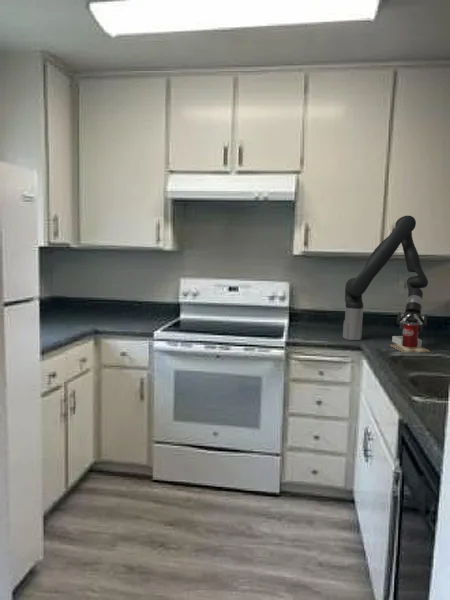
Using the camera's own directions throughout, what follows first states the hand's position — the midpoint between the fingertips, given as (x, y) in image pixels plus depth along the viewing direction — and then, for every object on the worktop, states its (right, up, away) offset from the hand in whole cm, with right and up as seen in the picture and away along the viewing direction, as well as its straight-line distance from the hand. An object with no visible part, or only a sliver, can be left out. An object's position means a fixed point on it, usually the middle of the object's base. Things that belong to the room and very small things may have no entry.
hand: (410, 331), depth 245 cm
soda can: (0, -8, +1) cm, 8 cm away
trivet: (0, -9, +1) cm, 9 cm away
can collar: (+4, -8, +15) cm, 17 cm away
